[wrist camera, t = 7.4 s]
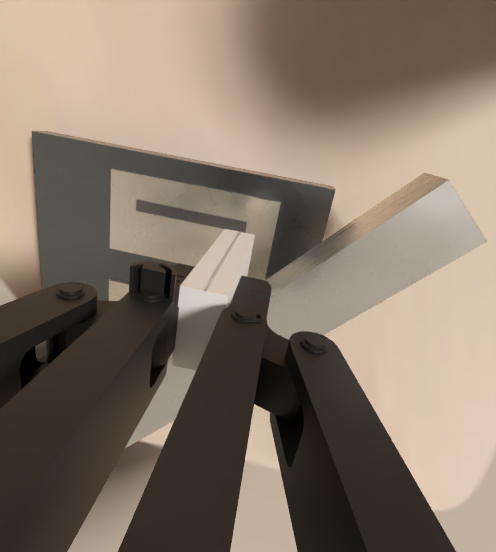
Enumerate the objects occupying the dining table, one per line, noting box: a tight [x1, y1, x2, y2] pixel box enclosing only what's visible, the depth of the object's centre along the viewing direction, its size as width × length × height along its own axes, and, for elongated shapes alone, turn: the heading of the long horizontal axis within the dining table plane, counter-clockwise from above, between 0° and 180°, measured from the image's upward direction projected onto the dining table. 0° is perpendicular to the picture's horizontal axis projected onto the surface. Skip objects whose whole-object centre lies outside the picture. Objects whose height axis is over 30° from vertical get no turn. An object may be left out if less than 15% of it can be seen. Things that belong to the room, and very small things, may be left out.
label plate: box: [32, 131, 335, 301], centre depth 21 cm, size 16×13×2 cm
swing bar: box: [125, 173, 487, 448], centre depth 16 cm, size 23×4×3 cm, turn 129°
